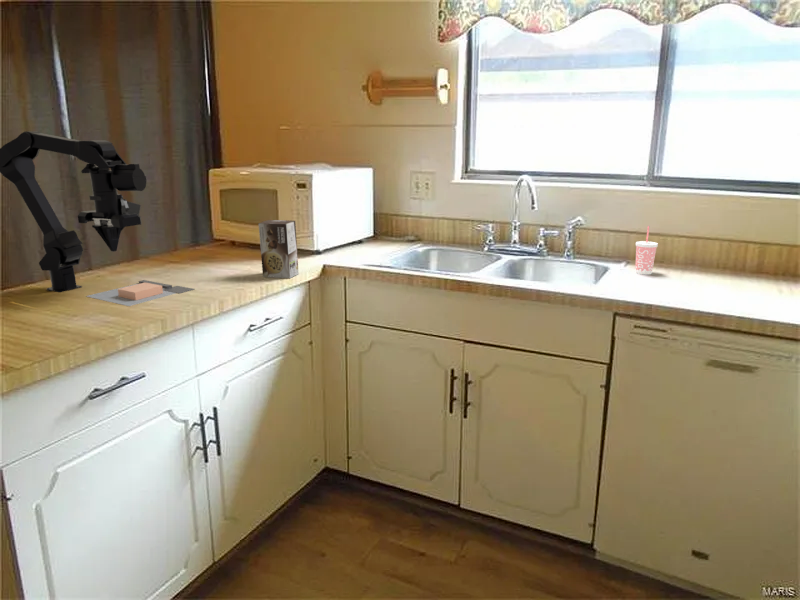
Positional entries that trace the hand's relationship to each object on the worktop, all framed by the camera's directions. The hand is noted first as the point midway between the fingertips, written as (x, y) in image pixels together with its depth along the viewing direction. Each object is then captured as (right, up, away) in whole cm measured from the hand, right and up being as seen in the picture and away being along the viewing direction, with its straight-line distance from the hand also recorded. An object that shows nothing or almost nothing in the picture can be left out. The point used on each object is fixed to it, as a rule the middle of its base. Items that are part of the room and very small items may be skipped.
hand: (113, 251), depth 155 cm
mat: (+6, -12, 0) cm, 13 cm away
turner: (+11, -10, +6) cm, 16 cm away
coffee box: (+40, -6, +20) cm, 45 cm away
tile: (+5, -10, 0) cm, 11 cm away
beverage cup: (+148, -5, +21) cm, 150 cm away
